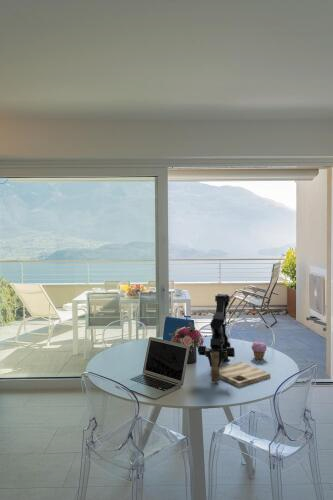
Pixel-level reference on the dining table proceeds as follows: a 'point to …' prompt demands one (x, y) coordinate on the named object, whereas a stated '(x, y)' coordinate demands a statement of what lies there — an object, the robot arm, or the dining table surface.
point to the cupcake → (259, 349)
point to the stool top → (242, 374)
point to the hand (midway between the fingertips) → (214, 366)
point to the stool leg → (215, 366)
